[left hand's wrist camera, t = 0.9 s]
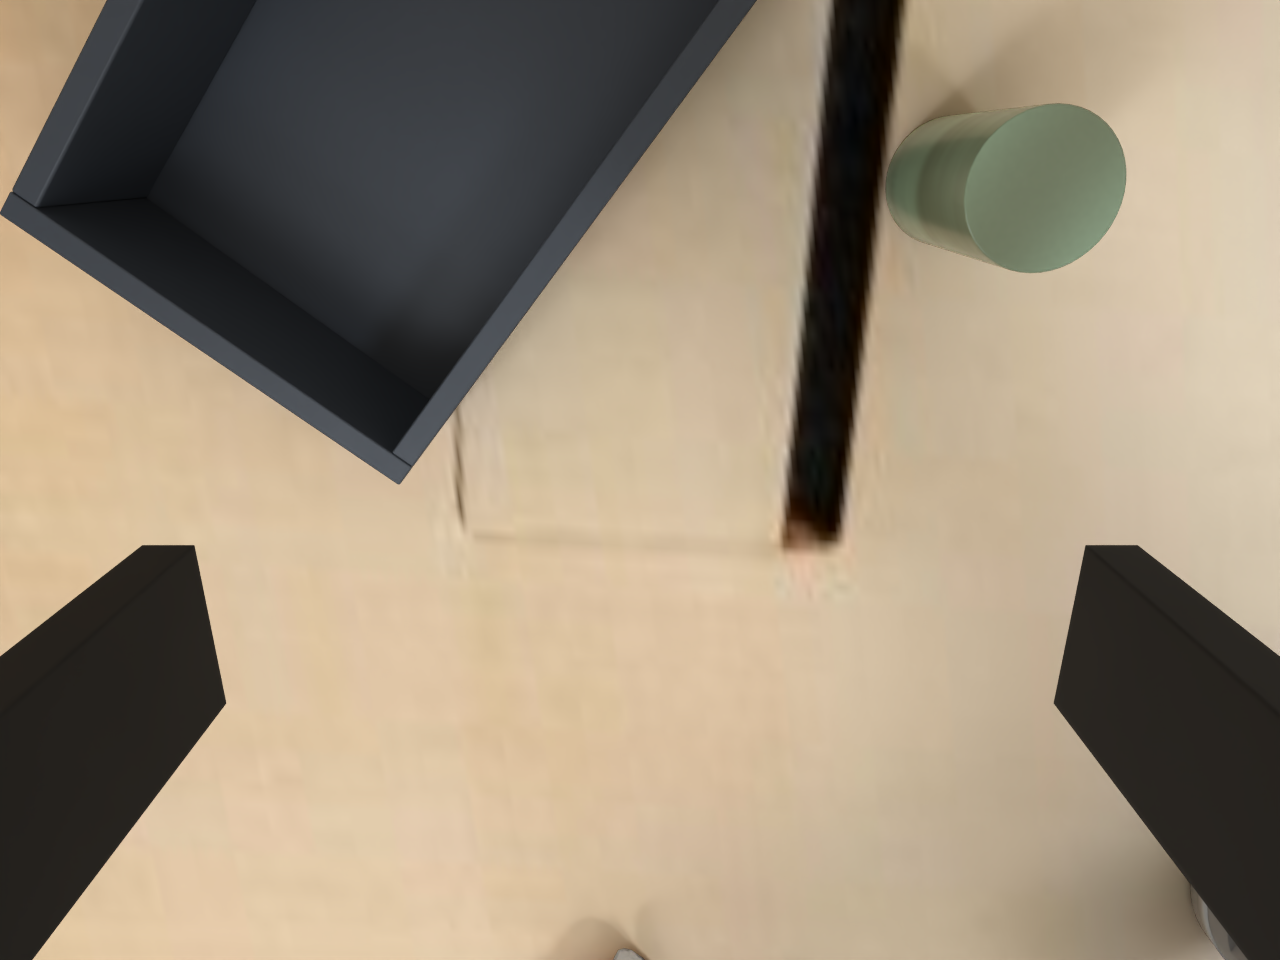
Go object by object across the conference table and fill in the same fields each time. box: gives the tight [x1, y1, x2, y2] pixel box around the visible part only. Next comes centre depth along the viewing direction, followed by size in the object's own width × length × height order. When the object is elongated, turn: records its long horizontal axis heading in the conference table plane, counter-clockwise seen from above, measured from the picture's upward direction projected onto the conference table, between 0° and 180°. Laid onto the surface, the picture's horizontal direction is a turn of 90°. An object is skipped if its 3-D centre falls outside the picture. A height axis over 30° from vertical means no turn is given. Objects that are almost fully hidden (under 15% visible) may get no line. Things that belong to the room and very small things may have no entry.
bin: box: [0, 0, 757, 484], centre depth 26 cm, size 14×22×7 cm, turn 142°
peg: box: [886, 103, 1126, 273], centre depth 27 cm, size 4×4×8 cm
